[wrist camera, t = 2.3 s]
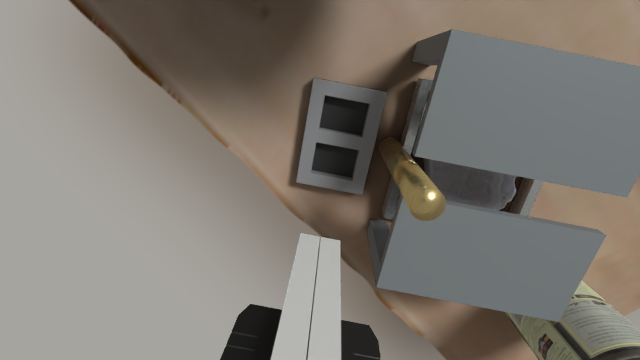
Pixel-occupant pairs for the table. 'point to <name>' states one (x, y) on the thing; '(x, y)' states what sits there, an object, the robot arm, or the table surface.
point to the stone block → (471, 184)
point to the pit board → (340, 135)
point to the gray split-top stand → (512, 171)
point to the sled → (414, 181)
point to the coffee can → (581, 331)
